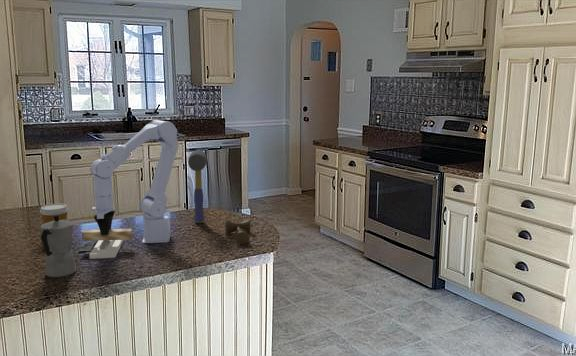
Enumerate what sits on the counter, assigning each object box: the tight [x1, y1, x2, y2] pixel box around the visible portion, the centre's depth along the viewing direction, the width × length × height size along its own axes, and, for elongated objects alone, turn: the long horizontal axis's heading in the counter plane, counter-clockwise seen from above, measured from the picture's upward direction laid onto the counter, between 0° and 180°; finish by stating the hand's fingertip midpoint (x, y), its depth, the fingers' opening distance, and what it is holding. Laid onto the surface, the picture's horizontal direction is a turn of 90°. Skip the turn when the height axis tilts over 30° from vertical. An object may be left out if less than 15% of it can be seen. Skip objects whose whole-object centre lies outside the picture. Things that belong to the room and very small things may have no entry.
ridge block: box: [89, 240, 124, 260], centre depth 168 cm, size 8×16×4 cm, turn 9°
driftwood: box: [78, 240, 97, 253], centre depth 175 cm, size 21×7×2 cm, turn 6°
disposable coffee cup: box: [39, 203, 69, 224], centre depth 179 cm, size 10×10×12 cm
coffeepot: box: [40, 215, 77, 278], centre depth 146 cm, size 15×9×18 cm, turn 179°
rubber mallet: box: [187, 149, 208, 224], centre depth 198 cm, size 12×8×30 cm, turn 7°
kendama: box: [224, 219, 252, 245], centre depth 184 cm, size 6×10×20 cm
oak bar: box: [81, 228, 133, 242], centre depth 167 cm, size 16×3×3 cm, turn 99°
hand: (106, 233), depth 167 cm, fingers open, 3 cm apart
